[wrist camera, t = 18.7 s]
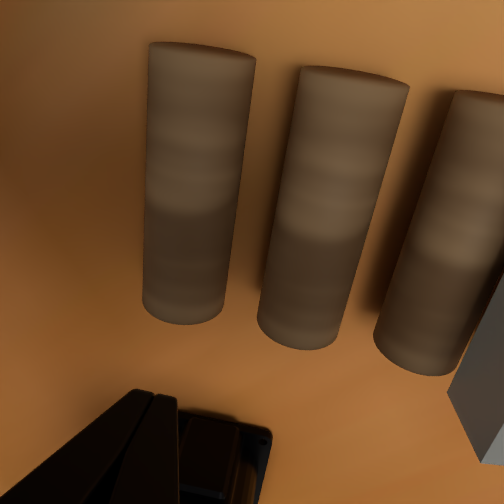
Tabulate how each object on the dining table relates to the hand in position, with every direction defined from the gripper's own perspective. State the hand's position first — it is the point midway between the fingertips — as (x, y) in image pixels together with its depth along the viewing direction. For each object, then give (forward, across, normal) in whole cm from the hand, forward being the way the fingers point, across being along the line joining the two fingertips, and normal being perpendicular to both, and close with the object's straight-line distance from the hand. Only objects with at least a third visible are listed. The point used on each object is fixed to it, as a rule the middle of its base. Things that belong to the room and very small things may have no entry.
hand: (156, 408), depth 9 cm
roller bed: (+12, -10, 0) cm, 16 cm away
